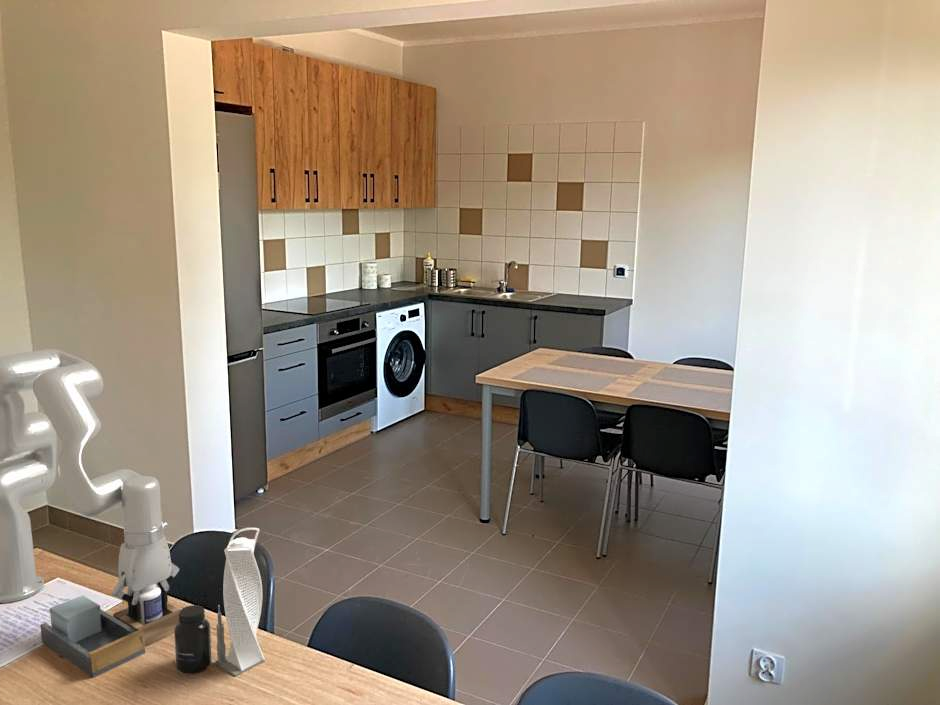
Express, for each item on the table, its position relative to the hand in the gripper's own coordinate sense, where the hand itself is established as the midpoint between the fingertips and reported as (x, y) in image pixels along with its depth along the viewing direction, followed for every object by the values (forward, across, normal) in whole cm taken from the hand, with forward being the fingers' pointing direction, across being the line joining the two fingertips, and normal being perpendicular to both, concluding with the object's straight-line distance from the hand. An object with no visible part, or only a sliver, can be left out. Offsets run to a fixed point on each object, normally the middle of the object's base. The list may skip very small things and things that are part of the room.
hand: (148, 612), depth 167 cm
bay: (+4, +11, -3) cm, 12 cm away
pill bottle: (+2, 0, 0) cm, 2 cm away
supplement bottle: (+4, +2, +19) cm, 20 cm away
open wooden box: (+4, 0, -2) cm, 5 cm away
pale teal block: (+3, +11, -10) cm, 15 cm away
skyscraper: (+4, -5, +26) cm, 27 cm away
